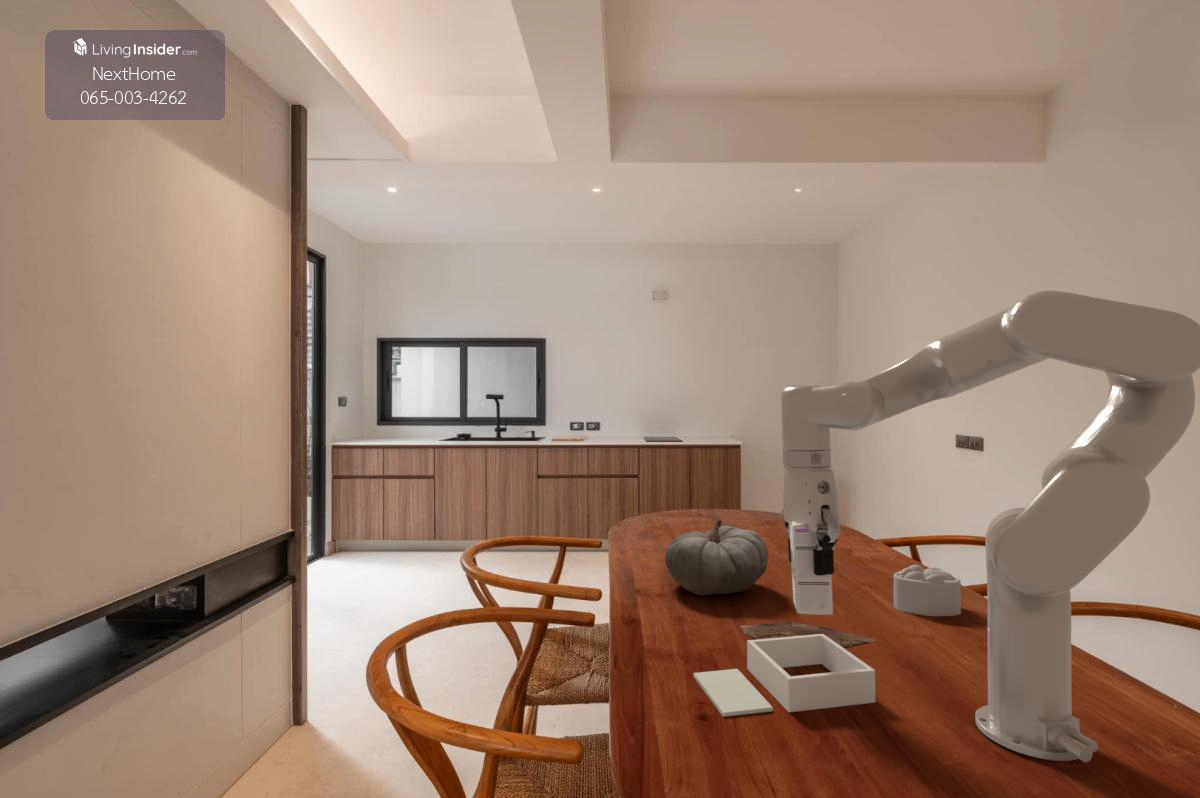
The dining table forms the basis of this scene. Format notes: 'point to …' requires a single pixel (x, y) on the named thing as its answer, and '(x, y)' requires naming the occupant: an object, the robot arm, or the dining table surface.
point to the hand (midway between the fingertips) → (810, 566)
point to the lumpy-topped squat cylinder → (927, 592)
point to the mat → (732, 692)
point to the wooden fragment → (801, 633)
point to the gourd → (717, 560)
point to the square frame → (811, 691)
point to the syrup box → (808, 575)
